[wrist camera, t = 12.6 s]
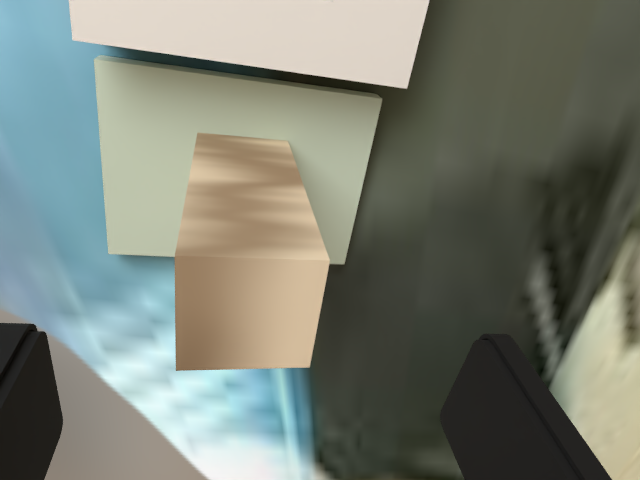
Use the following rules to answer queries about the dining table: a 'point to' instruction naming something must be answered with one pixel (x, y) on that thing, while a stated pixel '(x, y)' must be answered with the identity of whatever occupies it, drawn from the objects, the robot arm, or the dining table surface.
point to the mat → (225, 119)
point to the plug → (247, 259)
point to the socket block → (266, 33)
